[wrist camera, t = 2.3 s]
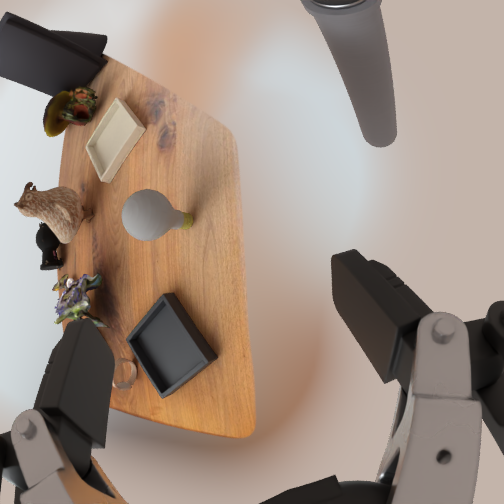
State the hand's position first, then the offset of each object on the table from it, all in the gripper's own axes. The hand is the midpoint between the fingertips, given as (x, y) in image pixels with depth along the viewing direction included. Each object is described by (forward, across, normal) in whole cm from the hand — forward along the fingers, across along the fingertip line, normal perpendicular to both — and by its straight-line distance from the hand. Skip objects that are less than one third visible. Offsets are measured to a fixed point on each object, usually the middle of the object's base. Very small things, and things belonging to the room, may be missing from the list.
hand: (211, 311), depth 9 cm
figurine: (+43, +22, +7) cm, 49 cm away
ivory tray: (+45, +13, -4) cm, 47 cm away
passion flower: (+33, +22, +20) cm, 44 cm away
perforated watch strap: (+24, +18, +27) cm, 40 cm away
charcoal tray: (+22, +10, +22) cm, 32 cm away
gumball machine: (+42, +35, +15) cm, 57 cm away
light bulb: (+28, +2, +8) cm, 29 cm away
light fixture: (+70, +22, -26) cm, 78 cm away
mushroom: (+55, +18, -9) cm, 59 cm away
